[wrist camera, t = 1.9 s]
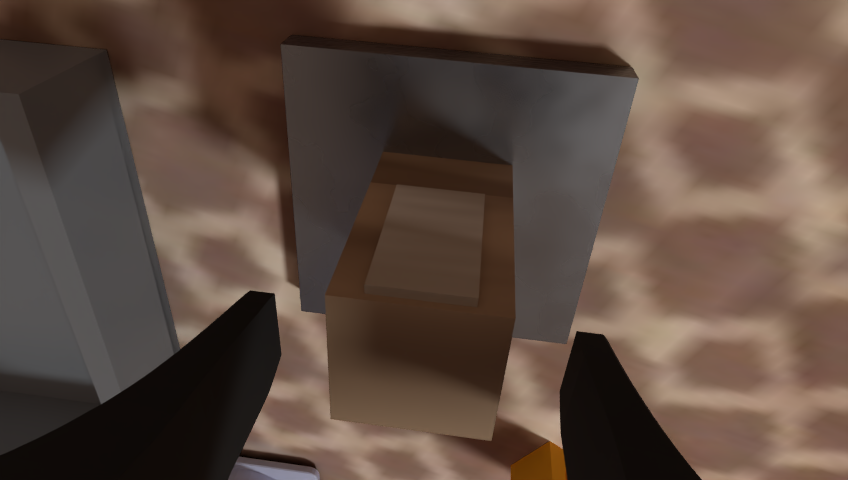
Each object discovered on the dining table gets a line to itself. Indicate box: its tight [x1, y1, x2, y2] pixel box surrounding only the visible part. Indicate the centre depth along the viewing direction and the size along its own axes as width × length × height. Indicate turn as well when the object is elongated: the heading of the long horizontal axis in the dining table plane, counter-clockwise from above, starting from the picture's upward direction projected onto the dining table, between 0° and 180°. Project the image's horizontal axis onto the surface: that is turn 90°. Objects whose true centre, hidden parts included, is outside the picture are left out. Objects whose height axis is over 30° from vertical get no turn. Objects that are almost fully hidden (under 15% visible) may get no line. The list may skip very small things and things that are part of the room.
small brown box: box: [325, 152, 516, 441], centre depth 16 cm, size 4×4×7 cm
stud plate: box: [281, 35, 639, 344], centre depth 19 cm, size 10×10×3 cm
